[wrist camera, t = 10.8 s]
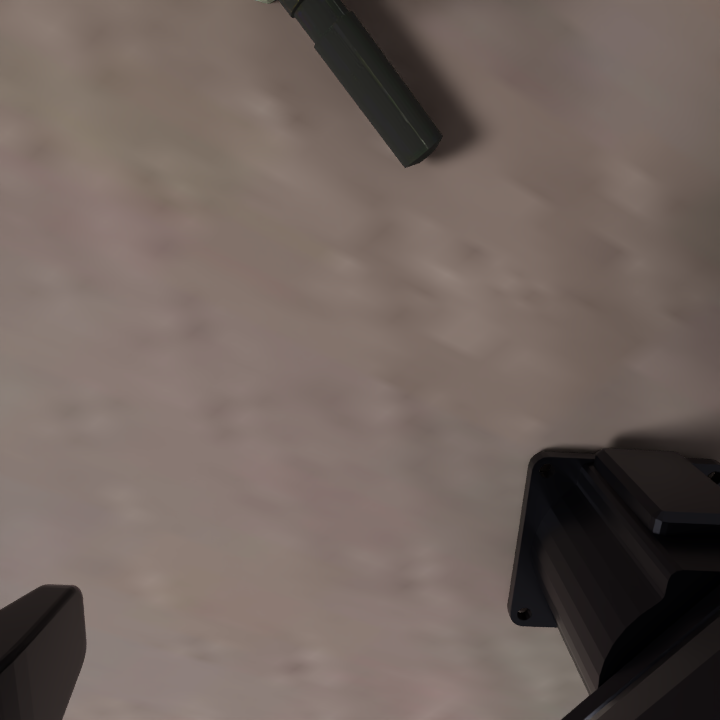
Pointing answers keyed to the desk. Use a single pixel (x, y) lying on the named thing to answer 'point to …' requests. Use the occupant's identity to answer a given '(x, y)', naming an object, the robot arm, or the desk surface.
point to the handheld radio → (367, 77)
